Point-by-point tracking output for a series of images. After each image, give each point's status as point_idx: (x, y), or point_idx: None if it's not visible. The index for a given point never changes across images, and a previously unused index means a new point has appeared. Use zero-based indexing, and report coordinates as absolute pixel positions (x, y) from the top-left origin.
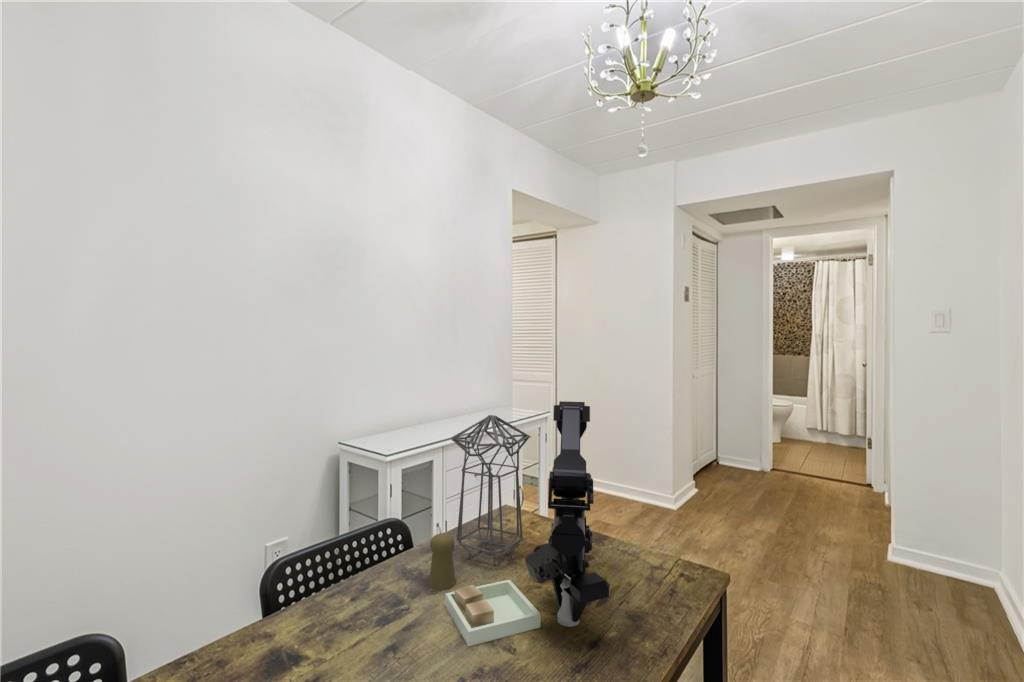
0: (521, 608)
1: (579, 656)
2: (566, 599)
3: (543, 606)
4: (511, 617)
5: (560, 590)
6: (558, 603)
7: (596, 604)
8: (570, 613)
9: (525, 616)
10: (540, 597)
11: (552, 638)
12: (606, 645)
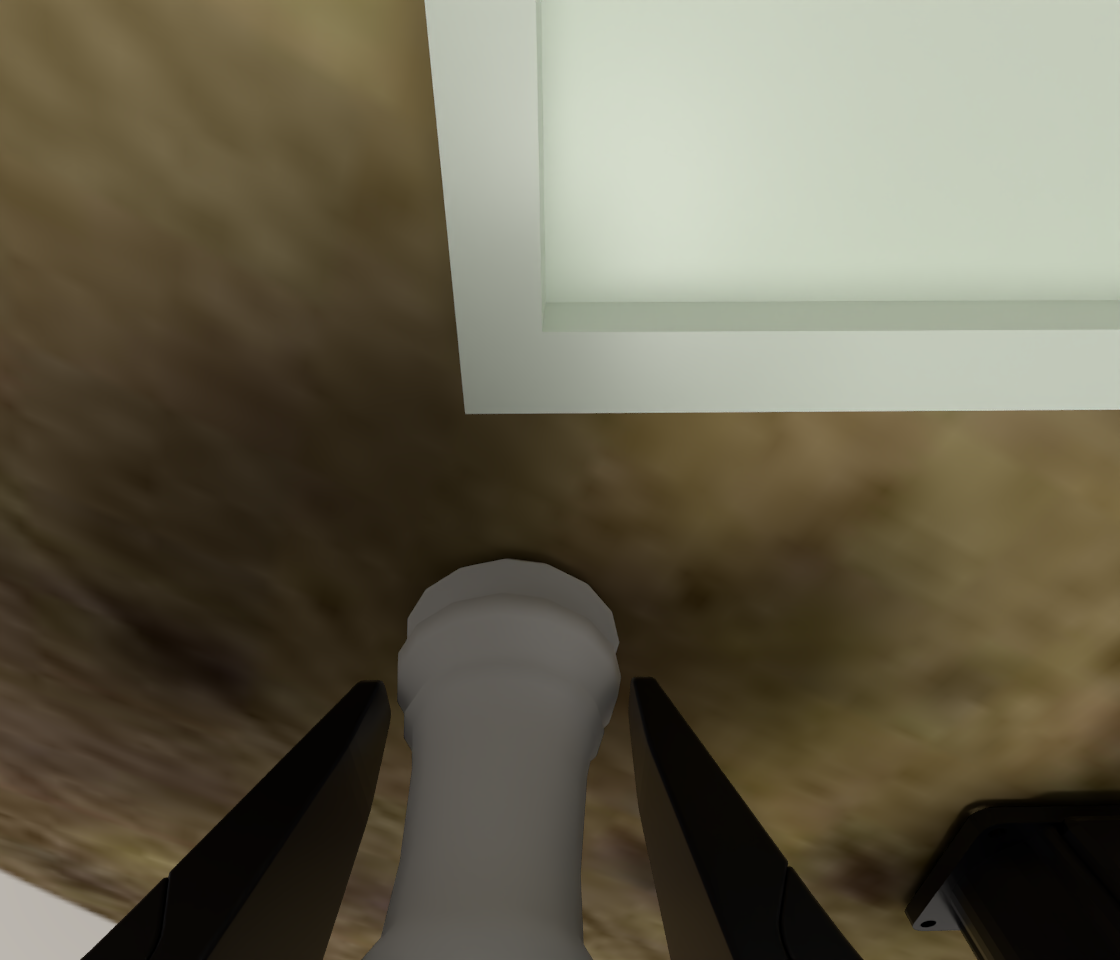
0: (962, 305)
1: (11, 500)
2: (415, 896)
3: (852, 565)
4: (905, 44)
5: (694, 918)
6: (658, 711)
7: (639, 839)
8: (415, 729)
9: (476, 37)
10: (989, 602)
11: (327, 406)
12: (168, 714)
